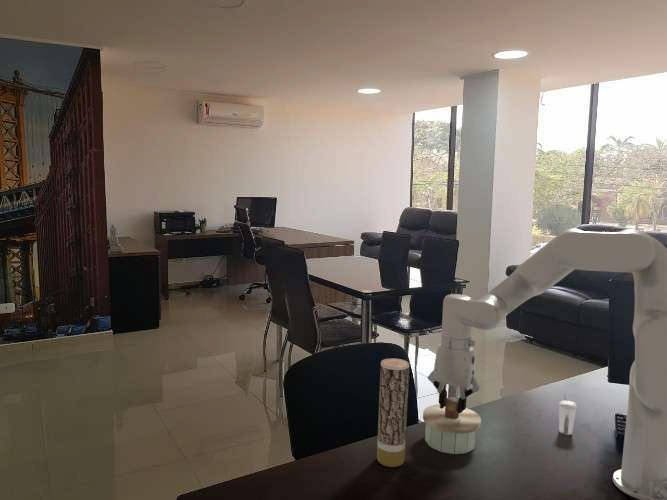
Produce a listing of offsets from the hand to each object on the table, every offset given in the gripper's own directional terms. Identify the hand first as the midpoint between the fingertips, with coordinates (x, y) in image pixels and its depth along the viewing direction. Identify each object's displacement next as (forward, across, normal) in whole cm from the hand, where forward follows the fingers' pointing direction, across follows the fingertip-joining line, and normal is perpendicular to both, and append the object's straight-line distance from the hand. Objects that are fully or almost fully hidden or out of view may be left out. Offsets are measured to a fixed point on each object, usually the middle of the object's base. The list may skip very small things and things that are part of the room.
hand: (451, 408), depth 139 cm
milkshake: (+10, -25, -25) cm, 36 cm away
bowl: (+9, 0, 0) cm, 9 cm away
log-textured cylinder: (+9, +8, +18) cm, 22 cm away
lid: (+3, 0, 0) cm, 3 cm away
